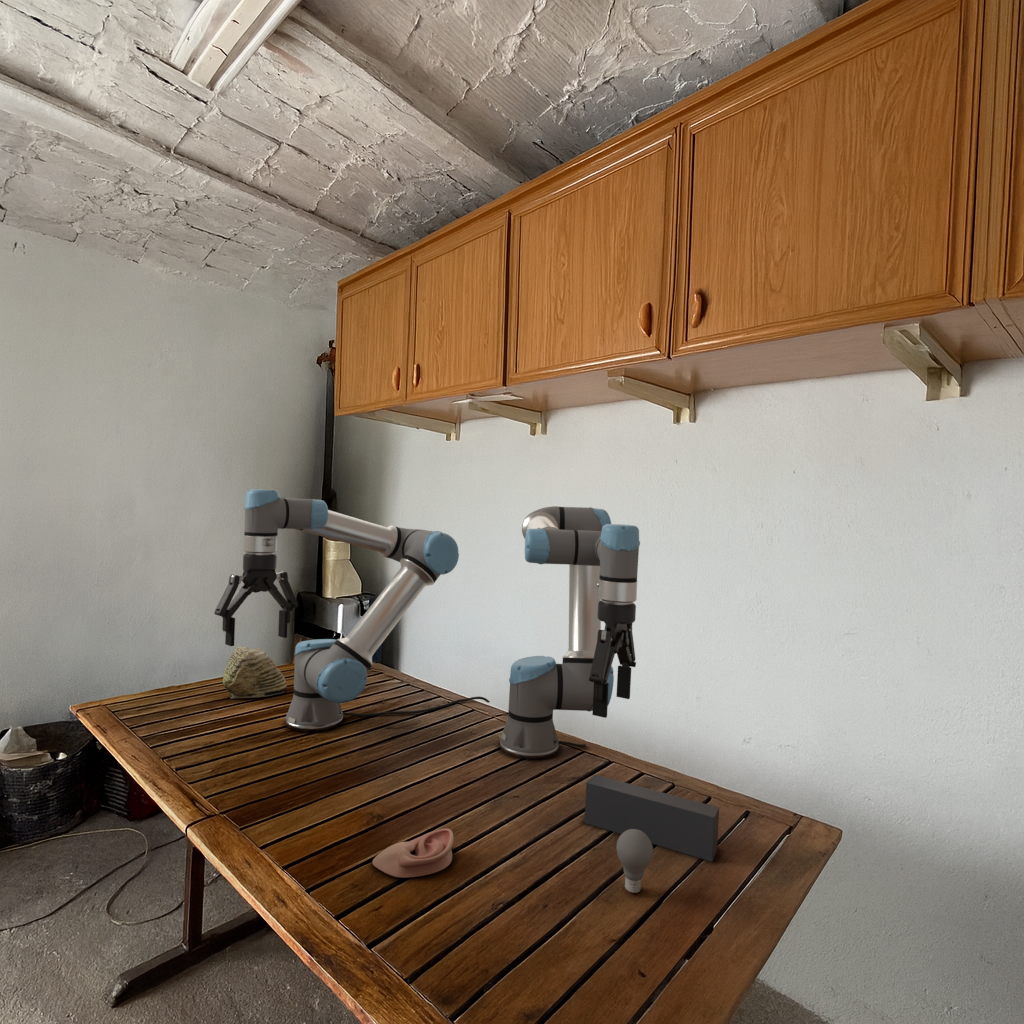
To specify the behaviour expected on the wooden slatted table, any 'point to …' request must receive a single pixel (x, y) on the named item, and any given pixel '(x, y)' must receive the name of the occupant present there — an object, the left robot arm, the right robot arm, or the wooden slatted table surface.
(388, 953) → the wooden slatted table surface
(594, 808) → the bar
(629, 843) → the light bulb
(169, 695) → the wooden slatted table surface
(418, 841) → the anatomical model
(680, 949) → the wooden slatted table surface
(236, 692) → the fossil
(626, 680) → the right robot arm
